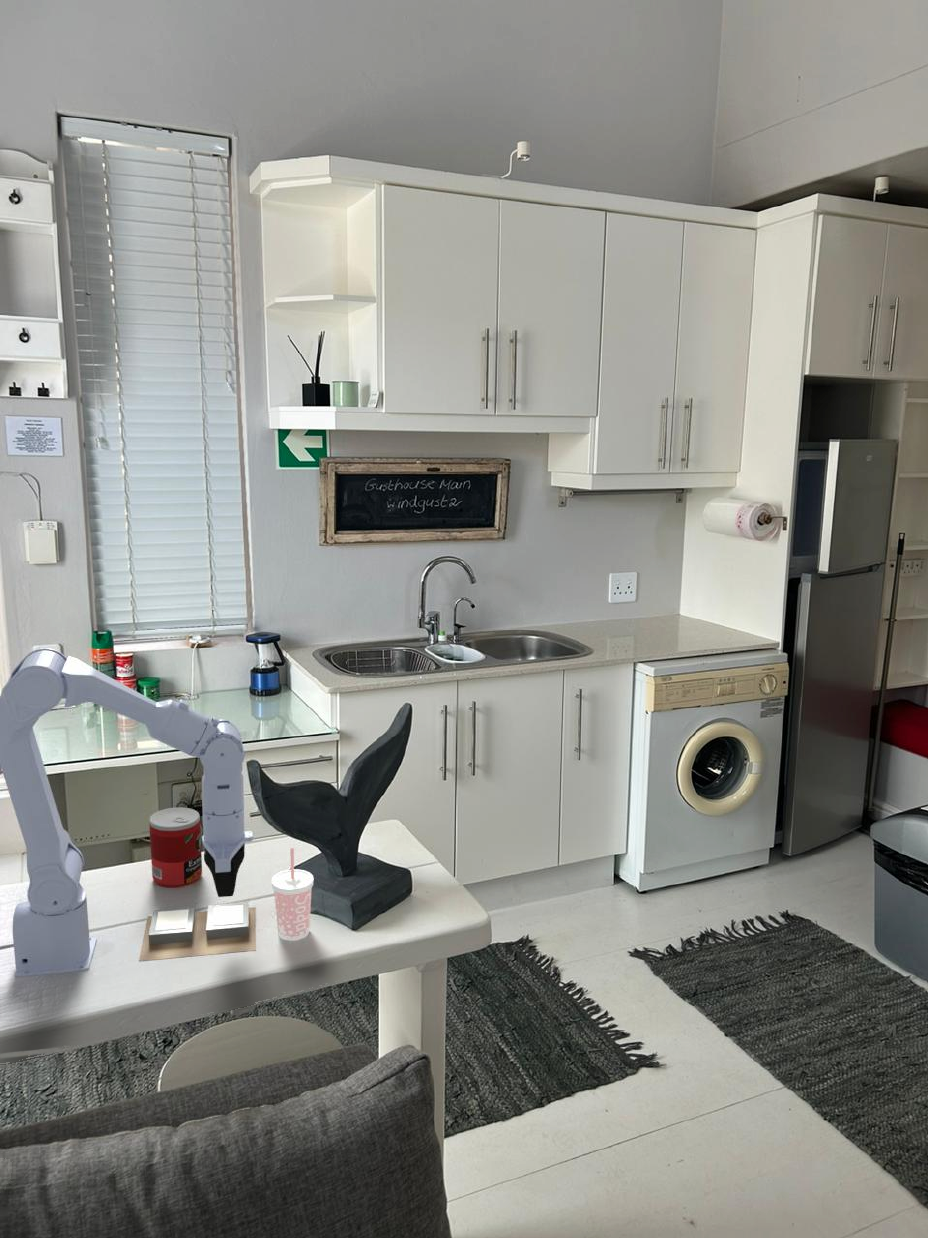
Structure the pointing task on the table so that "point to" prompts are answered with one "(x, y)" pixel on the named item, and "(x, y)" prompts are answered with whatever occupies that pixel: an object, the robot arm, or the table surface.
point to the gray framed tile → (227, 921)
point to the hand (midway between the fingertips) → (225, 894)
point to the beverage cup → (293, 901)
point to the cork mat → (199, 941)
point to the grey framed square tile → (172, 925)
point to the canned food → (175, 847)
